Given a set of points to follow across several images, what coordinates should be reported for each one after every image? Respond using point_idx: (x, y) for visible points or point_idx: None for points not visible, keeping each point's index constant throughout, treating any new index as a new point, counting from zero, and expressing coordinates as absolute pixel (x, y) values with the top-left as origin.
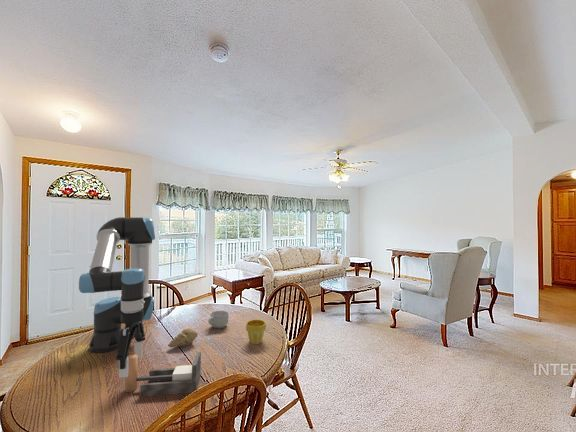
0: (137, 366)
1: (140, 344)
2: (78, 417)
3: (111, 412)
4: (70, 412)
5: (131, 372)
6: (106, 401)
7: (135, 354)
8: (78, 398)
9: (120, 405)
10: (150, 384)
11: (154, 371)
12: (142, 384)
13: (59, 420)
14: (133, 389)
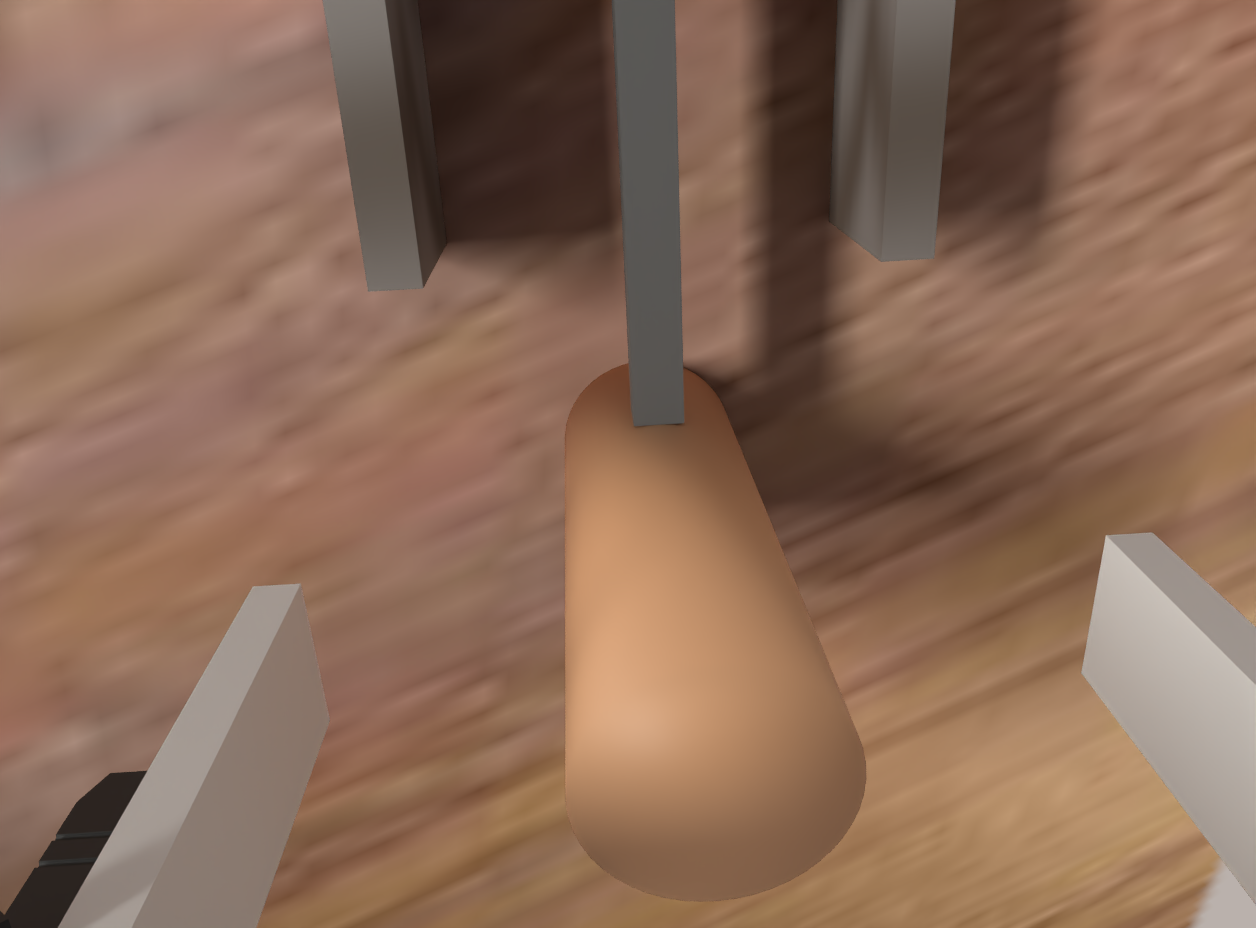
0: (651, 524)
1: (178, 893)
2: (1133, 743)
3: (1152, 452)
4: (1020, 852)
5: (782, 553)
6: (898, 615)
7: (573, 763)
8: (778, 910)
9: (1030, 408)
10: (941, 59)
11: (412, 176)
12: (911, 227)
13: (1126, 871)
14: (711, 391)
